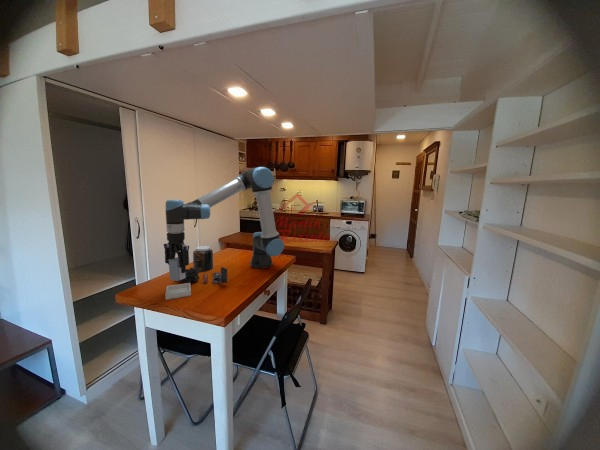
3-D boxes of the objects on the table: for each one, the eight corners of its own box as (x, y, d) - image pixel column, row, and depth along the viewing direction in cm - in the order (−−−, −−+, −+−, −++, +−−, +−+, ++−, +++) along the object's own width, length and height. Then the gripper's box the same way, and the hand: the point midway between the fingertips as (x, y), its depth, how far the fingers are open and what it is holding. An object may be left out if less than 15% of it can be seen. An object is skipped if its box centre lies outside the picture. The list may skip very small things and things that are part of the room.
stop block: (178, 276, 114) (177, 257, 112) (186, 277, 112) (185, 258, 111) (169, 279, 109) (168, 259, 108) (177, 281, 108) (176, 261, 106)
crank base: (220, 280, 129) (220, 272, 129) (222, 283, 125) (221, 275, 124) (203, 282, 125) (202, 274, 124) (204, 286, 120) (203, 277, 120)
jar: (208, 273, 139) (208, 250, 137) (190, 272, 140) (189, 249, 137) (216, 267, 151) (215, 245, 149) (199, 266, 151) (198, 245, 149)
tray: (190, 287, 119) (190, 282, 119) (191, 295, 110) (190, 290, 109) (166, 290, 114) (166, 286, 114) (165, 300, 105) (165, 295, 104)
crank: (211, 278, 125) (211, 264, 124) (218, 276, 128) (218, 262, 127) (222, 285, 117) (222, 269, 116) (229, 283, 120) (229, 268, 119)
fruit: (167, 282, 121) (192, 283, 119) (169, 267, 123) (194, 267, 120) (178, 282, 130) (202, 282, 127) (180, 267, 131) (203, 268, 129)
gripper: (154, 231, 106) (157, 278, 110) (184, 235, 101) (186, 283, 104) (167, 229, 113) (169, 273, 117) (196, 232, 108) (198, 278, 111)
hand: (177, 277), depth 110 cm, fingers closed on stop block, 5 cm apart
